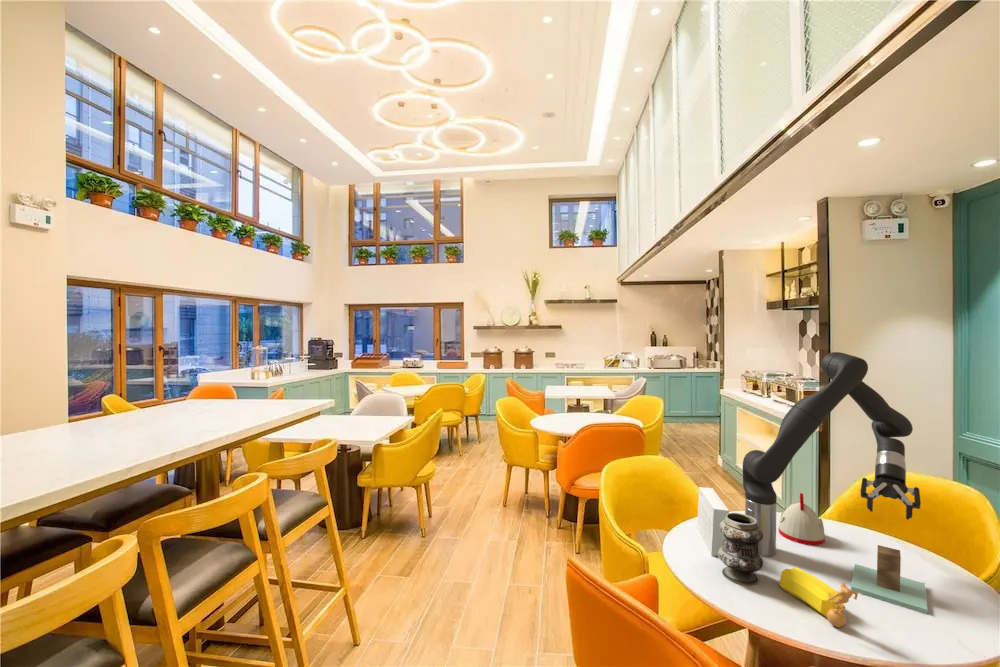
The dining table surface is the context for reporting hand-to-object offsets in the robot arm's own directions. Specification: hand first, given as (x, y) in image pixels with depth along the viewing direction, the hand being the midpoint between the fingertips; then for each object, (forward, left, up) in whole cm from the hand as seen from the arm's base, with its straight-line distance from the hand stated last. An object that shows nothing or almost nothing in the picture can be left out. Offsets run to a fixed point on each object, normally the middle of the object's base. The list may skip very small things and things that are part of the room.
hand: (889, 514), depth 138 cm
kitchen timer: (-24, +10, -18) cm, 32 cm away
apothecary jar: (-34, -33, -18) cm, 50 cm away
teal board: (0, -12, -18) cm, 21 cm away
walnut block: (0, -12, -17) cm, 20 cm away
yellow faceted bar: (-16, -33, -19) cm, 41 cm away
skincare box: (-47, -16, -18) cm, 53 cm away
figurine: (-9, -42, -18) cm, 46 cm away
